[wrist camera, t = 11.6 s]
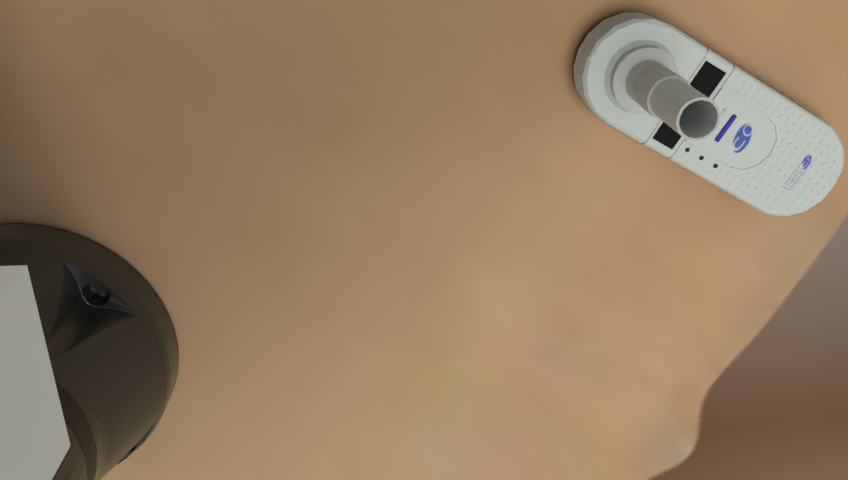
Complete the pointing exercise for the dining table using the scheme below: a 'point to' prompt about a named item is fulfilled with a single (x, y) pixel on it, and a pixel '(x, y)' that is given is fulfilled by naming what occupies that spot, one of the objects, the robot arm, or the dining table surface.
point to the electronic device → (706, 114)
